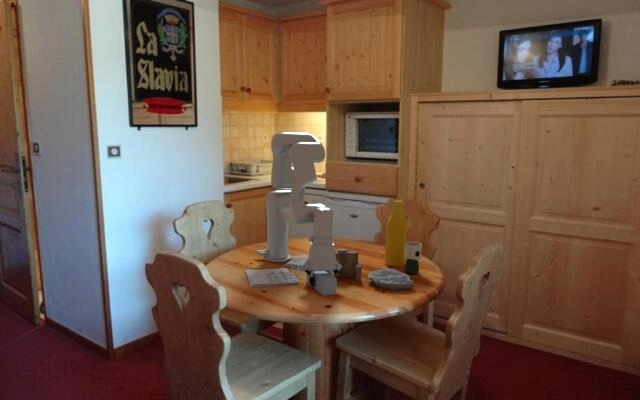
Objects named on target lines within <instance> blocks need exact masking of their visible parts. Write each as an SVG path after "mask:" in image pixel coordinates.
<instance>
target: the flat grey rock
mask: <svg viewBox="0 0 640 400" xmlns="http://www.w3.org/2000/svg"><path fill="white" fill-rule="evenodd" d="M367 278H368V279H370V280H371V281H372V283H374V285H375V286H377V287H379V288H382V289H387V290H394V291H396V290H397V291H398V290H404V289H405V290H407V289H411V288H412V287H413V285H414V284H415V283H414V281H413V280H411V279H410V278H411V277H410V274H409V275H408V274H407V273H406V272H401V271H398V270H396V269H392V268H383V269H381V268H379V269H375V270H373V271H371V272H369V273H368V274H367Z"/></svg>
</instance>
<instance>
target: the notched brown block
mask: <svg viewBox="0 0 640 400" xmlns="http://www.w3.org/2000/svg"><path fill="white" fill-rule="evenodd" d="M335 252H336V260H337V261H338V262H339V263H340V264H341V265H342V268H341V269H340V270H339V271H338V272H337V273H336V274H335V276H334V277H335V278H338V277H339V278H341V277H342V278H343V277H352V278H353V279H354V280H355V281H356V282H361V281H362V269H363V267H362V265H361V263H359V251H348V250H347V248H337V251H335ZM336 267H337V265H336ZM326 272H327V273H329V274H330V272H329V271H326Z"/></svg>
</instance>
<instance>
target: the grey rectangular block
mask: <svg viewBox="0 0 640 400" xmlns="http://www.w3.org/2000/svg"><path fill="white" fill-rule="evenodd" d="M306 268H307V269H308V270H309V271H310V268H309V266H307V267H306ZM313 277H314V287H312V288H313V289H315V290H316V291H317V292H319V293H320V294H321V295H322V296H332V295H336V294H337V285H338V284H337V283H338V278H337V277H333V276H332V275H330V274H329V273H327V272H326V271H315V272H314V274H313ZM305 281H306V283H307V284H308V285H310V284H309V275H308V274H307V273H306V280H305Z"/></svg>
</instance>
